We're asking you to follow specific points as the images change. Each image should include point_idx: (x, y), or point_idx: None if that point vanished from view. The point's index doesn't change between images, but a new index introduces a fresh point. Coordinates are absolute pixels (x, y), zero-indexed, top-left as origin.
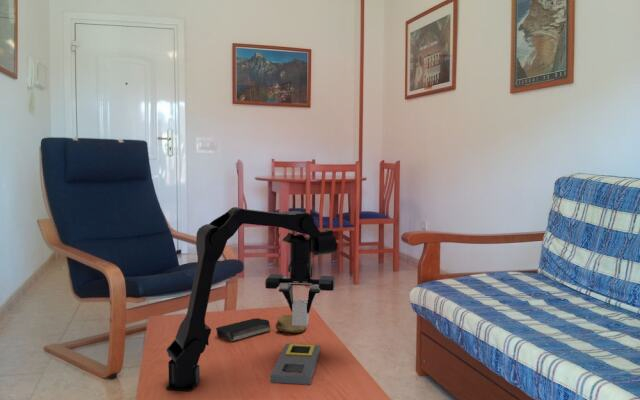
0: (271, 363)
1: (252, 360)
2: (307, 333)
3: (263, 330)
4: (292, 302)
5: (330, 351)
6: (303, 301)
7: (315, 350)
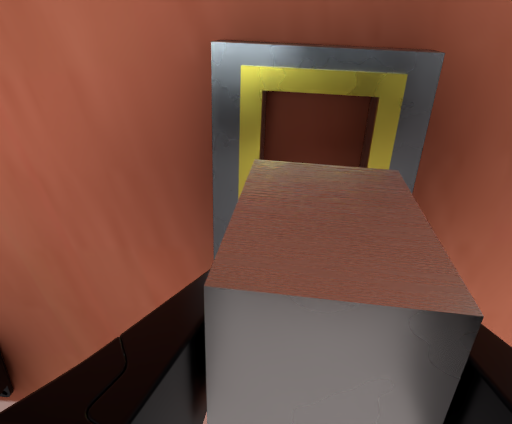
0: (185, 209)
1: (93, 182)
2: None
3: None
4: (197, 402)
5: (503, 29)
6: (373, 368)
7: (404, 143)
